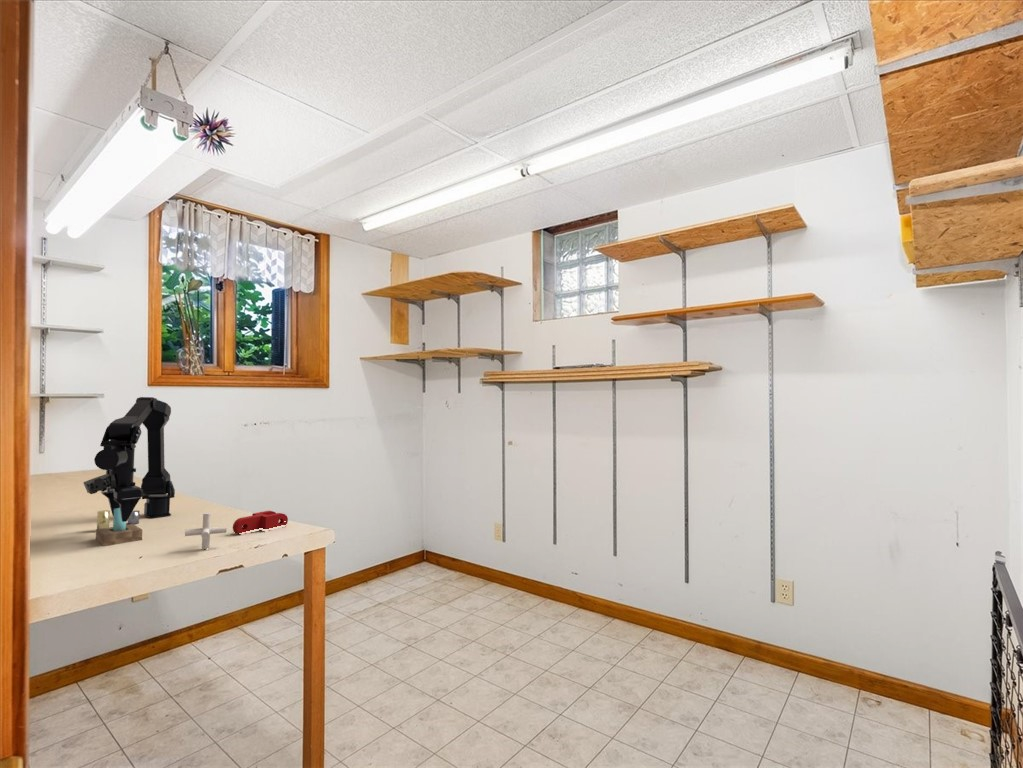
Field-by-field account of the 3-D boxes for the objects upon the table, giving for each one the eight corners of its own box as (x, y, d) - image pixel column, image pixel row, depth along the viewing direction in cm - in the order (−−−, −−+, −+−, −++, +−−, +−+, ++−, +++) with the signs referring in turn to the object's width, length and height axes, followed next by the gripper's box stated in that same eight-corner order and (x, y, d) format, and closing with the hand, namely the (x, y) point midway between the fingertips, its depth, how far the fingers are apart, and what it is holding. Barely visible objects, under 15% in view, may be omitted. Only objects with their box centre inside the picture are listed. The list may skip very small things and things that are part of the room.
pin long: (123, 537, 157) (124, 507, 158) (126, 539, 155) (127, 508, 156) (111, 539, 155) (112, 508, 155) (114, 541, 153) (115, 510, 153)
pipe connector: (183, 556, 142) (184, 518, 142) (186, 546, 151) (187, 510, 151) (225, 552, 147) (226, 515, 147) (226, 542, 155) (227, 508, 156)
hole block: (132, 533, 162) (132, 524, 162) (142, 539, 156) (142, 529, 156) (95, 539, 155) (96, 529, 155) (104, 545, 149) (104, 535, 149)
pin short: (137, 522, 176) (137, 510, 176) (140, 523, 174) (140, 511, 174) (126, 523, 173) (126, 511, 173) (129, 525, 171) (129, 512, 172)
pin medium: (107, 529, 166) (108, 509, 166) (110, 530, 164) (111, 511, 164) (95, 530, 164) (96, 511, 164) (98, 532, 162) (99, 512, 162)
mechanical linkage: (273, 524, 179) (274, 509, 179) (287, 527, 175) (288, 512, 175) (227, 534, 165) (228, 518, 165) (241, 538, 161) (242, 521, 161)
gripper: (79, 464, 155) (76, 517, 155) (96, 471, 143) (93, 529, 143) (124, 461, 164) (122, 512, 164) (144, 467, 152) (142, 522, 152)
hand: (119, 518), depth 155 cm, fingers open, 9 cm apart
